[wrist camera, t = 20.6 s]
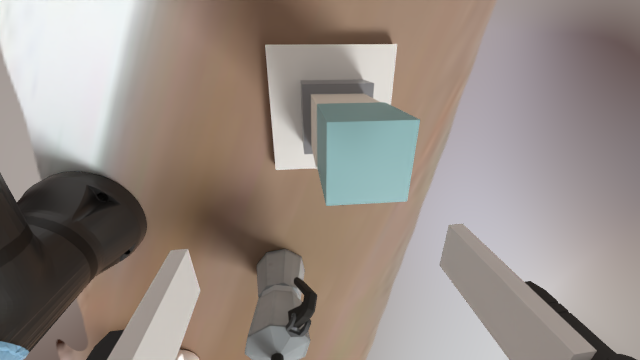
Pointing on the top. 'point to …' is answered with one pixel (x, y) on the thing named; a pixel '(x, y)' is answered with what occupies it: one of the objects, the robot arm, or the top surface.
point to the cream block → (326, 100)
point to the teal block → (365, 152)
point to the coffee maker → (281, 309)
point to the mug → (186, 355)
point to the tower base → (312, 69)
